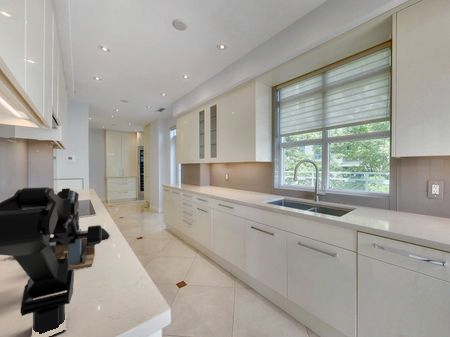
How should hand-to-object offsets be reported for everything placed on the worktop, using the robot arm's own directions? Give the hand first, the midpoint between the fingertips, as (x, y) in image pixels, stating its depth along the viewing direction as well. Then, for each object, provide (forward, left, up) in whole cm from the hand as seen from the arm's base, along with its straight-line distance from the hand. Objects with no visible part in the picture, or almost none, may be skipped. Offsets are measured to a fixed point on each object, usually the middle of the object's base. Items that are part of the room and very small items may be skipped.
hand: (71, 249), depth 70 cm
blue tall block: (+8, -1, -8) cm, 11 cm away
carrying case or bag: (+36, -11, -10) cm, 39 cm away
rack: (+9, 0, -9) cm, 13 cm away
